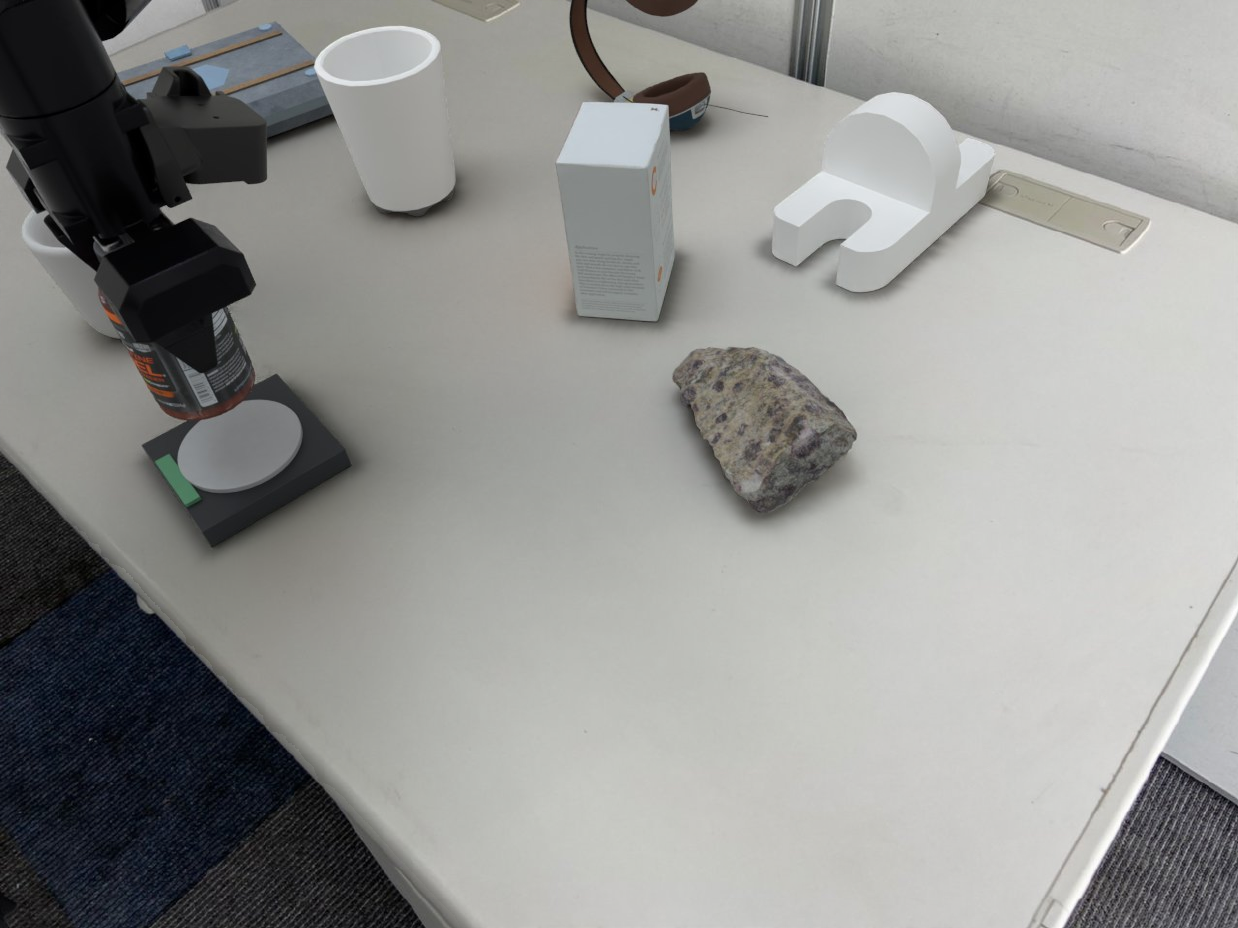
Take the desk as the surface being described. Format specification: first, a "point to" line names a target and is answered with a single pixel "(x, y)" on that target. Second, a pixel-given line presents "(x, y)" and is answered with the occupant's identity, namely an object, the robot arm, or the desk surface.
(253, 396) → the scale
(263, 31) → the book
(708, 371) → the rock
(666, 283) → the small box
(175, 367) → the supplement bottle
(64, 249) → the cup
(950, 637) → the desk surface
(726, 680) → the desk surface
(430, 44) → the cup
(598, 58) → the headphones
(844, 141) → the slotted bracket
